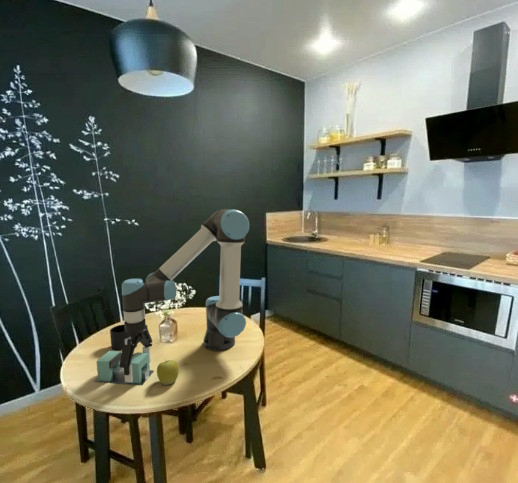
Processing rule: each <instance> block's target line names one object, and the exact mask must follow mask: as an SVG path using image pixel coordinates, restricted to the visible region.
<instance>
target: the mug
mask: <svg viewBox="0 0 518 483" xmlns="http://www.w3.org/2000/svg"><path fill="white" fill-rule="evenodd" d="M109 334H110V336H109V337H110V346H111V348H110V349H111V351H122V348H123V339H127V338H128V333H127V332H126V331H125V326H124V324H119V325H115V326H112V328H110V329H109ZM131 345H133V344H131Z"/></svg>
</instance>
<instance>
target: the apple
mask: <svg viewBox="0 0 518 483" xmlns="http://www.w3.org/2000/svg"><path fill="white" fill-rule="evenodd" d="M179 371H180V370H179V364H178V362H177V361H176V360H174V359H170V360H169V359H168V360H166V359H164V361H163V362H160V363H159V364H158V366H157V368H156V375H157V378H158V380H159V381H160V383H161V384H162V385H165V386H169V385H172V384H173V383H175V382H176V380H177V379H178V376H179Z"/></svg>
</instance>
